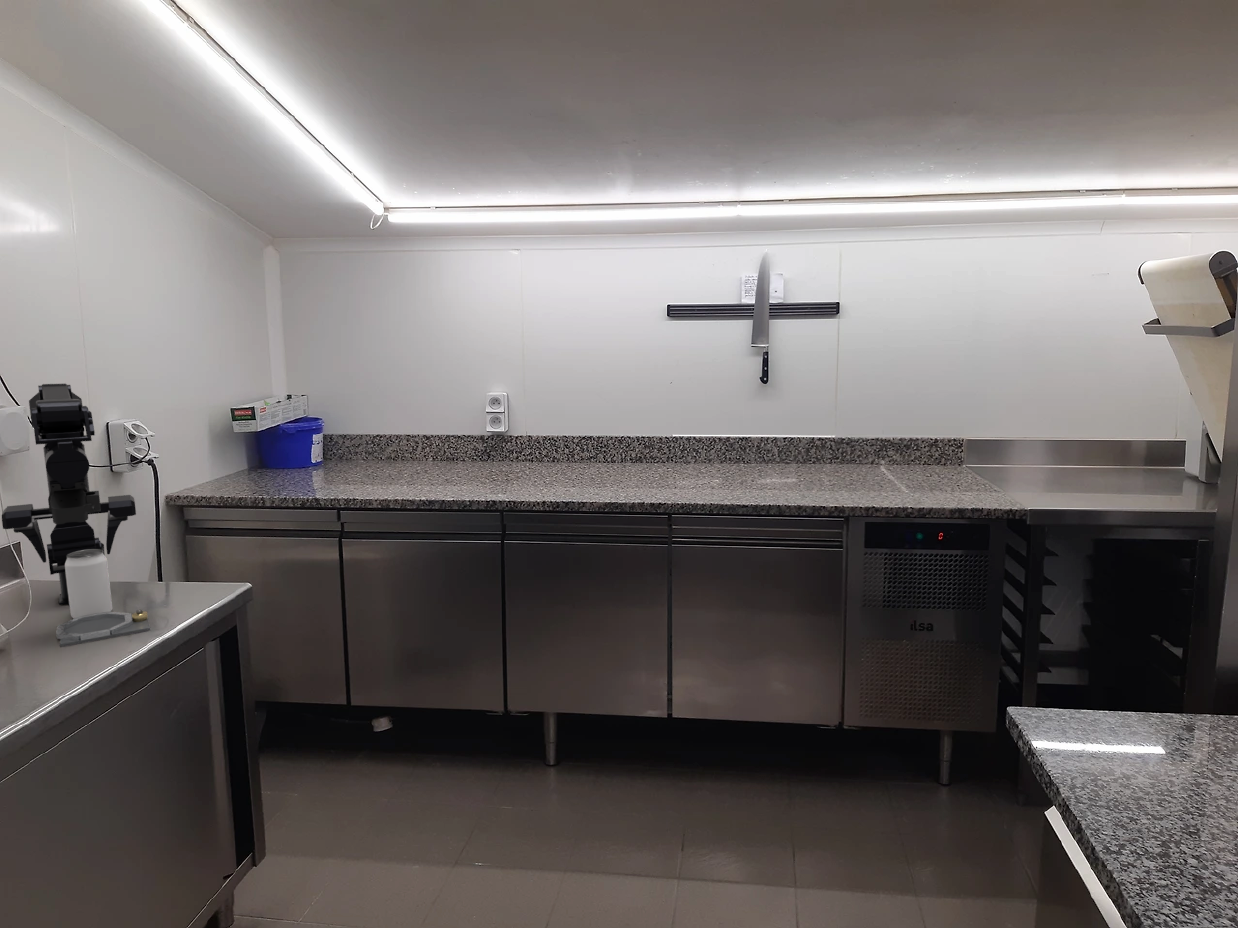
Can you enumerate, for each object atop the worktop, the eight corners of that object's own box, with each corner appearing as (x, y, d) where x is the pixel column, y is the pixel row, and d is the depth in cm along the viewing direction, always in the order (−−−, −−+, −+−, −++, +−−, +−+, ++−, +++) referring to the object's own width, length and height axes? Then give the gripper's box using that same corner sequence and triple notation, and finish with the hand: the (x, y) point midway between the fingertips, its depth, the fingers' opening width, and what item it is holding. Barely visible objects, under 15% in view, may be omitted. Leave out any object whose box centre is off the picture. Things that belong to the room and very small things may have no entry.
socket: (58, 624, 135) (57, 620, 135) (130, 611, 141) (130, 607, 141) (56, 644, 126) (55, 640, 126) (133, 630, 132) (132, 626, 132)
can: (91, 621, 137) (84, 559, 135) (62, 619, 139) (54, 557, 137) (121, 609, 144) (114, 549, 142) (92, 606, 145) (85, 547, 143)
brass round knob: (132, 618, 138) (131, 609, 137) (147, 616, 139) (146, 607, 139) (132, 622, 136) (131, 613, 135) (148, 620, 137) (147, 610, 137)
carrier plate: (61, 628, 134) (61, 625, 134) (146, 613, 142) (146, 610, 142) (60, 647, 126) (59, 644, 126) (150, 630, 134) (149, 627, 134)
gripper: (-8, 487, 118) (5, 580, 121) (132, 475, 128) (141, 562, 131) (-1, 474, 127) (11, 561, 130) (130, 464, 137) (138, 545, 140)
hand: (77, 557), depth 132 cm, fingers open, 9 cm apart
